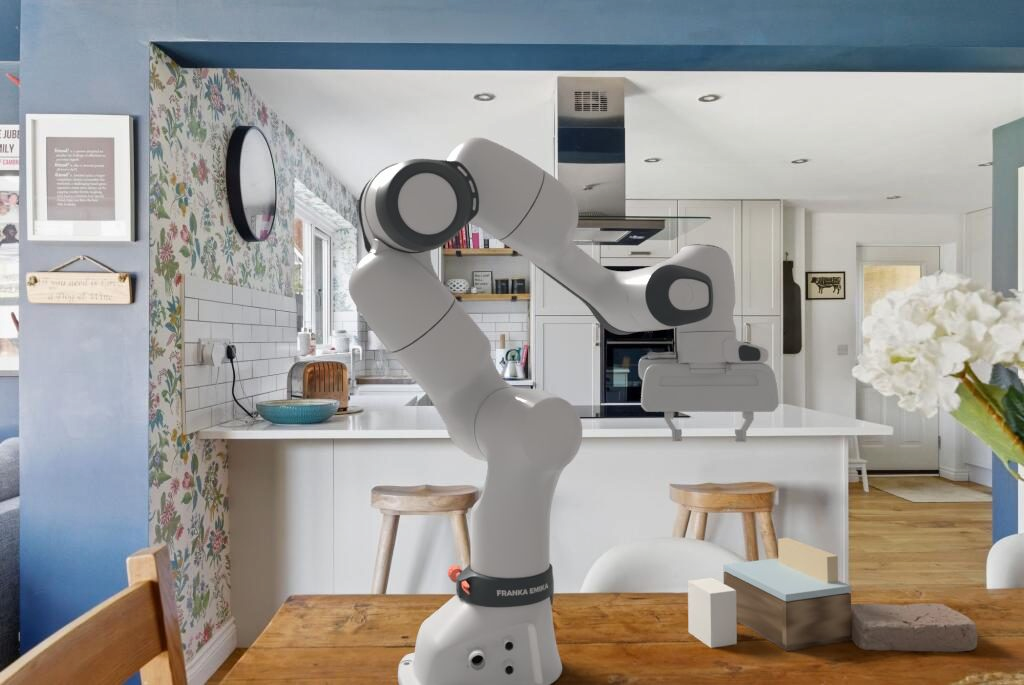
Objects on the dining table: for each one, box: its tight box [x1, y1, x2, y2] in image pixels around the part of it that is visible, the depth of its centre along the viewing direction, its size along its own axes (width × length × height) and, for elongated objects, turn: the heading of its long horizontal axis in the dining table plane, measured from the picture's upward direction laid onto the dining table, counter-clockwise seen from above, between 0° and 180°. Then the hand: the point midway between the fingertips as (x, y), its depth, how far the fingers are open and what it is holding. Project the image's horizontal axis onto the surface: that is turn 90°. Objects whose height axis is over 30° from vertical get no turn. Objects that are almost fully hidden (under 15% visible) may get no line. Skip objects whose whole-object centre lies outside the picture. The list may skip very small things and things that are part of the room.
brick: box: [851, 602, 979, 653], centre depth 101 cm, size 17×8×5 cm, turn 86°
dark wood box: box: [723, 571, 853, 652], centre depth 106 cm, size 12×15×7 cm
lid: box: [723, 537, 852, 601], centre depth 106 cm, size 12×15×5 cm
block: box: [687, 577, 738, 649], centre depth 102 cm, size 4×6×8 cm
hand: (708, 441), depth 102 cm, fingers open, 8 cm apart
